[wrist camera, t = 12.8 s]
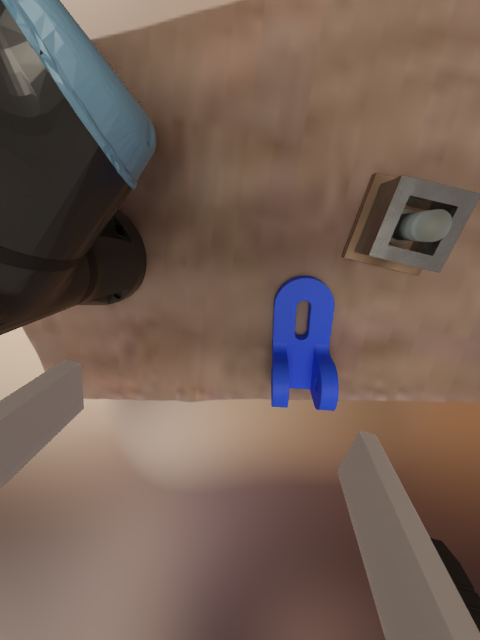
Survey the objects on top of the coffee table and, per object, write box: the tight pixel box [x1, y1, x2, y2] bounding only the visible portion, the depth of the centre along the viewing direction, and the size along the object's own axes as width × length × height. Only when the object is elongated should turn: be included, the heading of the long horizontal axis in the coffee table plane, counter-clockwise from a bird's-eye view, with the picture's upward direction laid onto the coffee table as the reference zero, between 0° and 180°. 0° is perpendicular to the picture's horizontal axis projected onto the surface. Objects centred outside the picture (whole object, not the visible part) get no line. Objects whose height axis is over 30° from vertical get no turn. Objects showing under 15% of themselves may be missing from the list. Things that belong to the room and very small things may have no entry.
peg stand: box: [342, 173, 452, 276], centre depth 27 cm, size 10×10×8 cm
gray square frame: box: [354, 175, 480, 273], centre depth 27 cm, size 8×8×5 cm
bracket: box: [271, 276, 338, 411], centre depth 33 cm, size 18×8×9 cm, turn 1°
